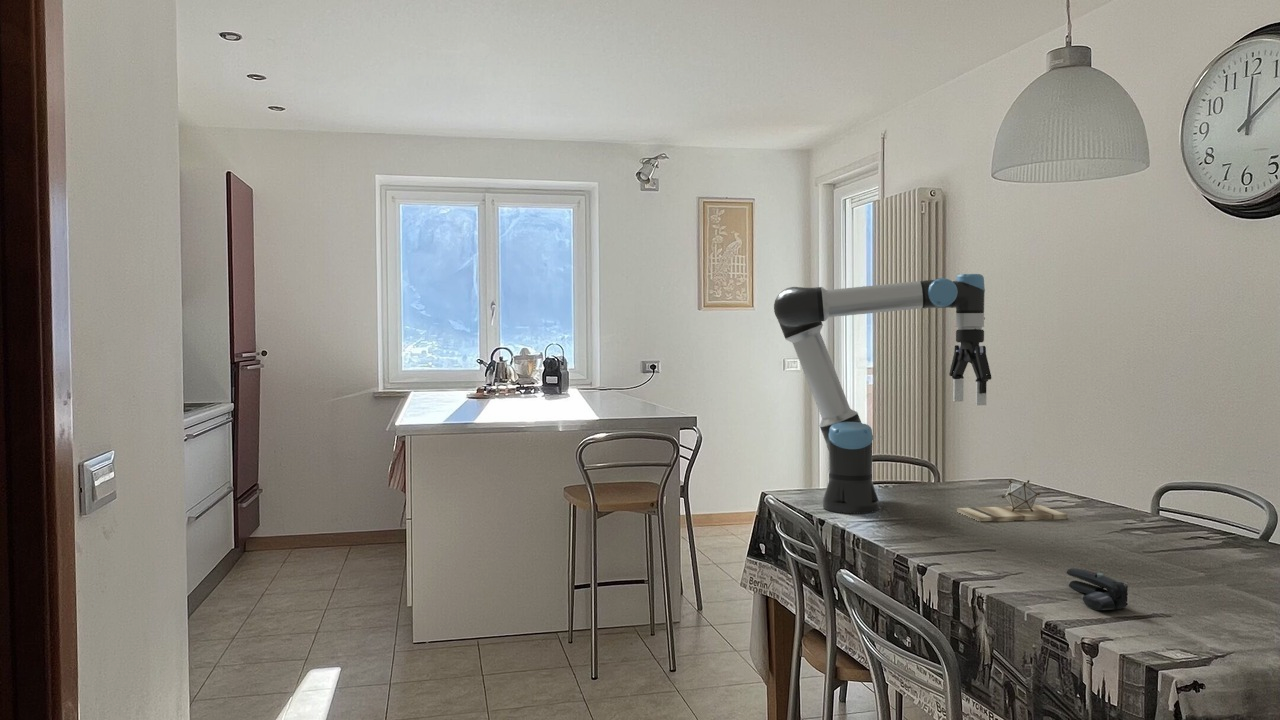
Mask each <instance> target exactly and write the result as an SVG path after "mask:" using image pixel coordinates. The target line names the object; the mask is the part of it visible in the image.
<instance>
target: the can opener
mask: <svg viewBox="0 0 1280 720" xmlns="http://www.w3.org/2000/svg"><path fill="white" fill-rule="evenodd" d="M1066 574H1067V575H1068V576H1071V577H1074V578H1077V579H1079V580H1081V581H1079V580H1071V581H1070V582H1069V584H1068V586H1069V588H1071V589H1072V590H1074V591H1077V592H1079V593H1081V594H1085V595H1084V596H1083V597H1082V601H1083V604H1085V605H1086V606H1087V607H1088V608H1090V609H1092V610H1095V611H1109V610H1114V611H1115V610H1121V609H1123V608H1126V607H1127V606H1128V605H1129V603H1128V595H1129V594H1128V589H1129V586H1128V585H1129V584H1128V583H1127V582H1123V581H1117V580H1115V579H1112V578H1110V577H1108V576H1107V575H1105V574H1104V573H1102V572H1098V573H1097V572H1094V571H1090V570H1087V569H1082V568H1081V569H1080V568H1073V567H1072V568H1068V570H1067V571H1066ZM1083 581H1085V582H1083Z"/></svg>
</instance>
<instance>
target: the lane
mask: <svg viewBox="0 0 1280 720" xmlns="http://www.w3.org/2000/svg"><path fill="white" fill-rule="evenodd" d="M1012 509H1013V507H1012V506H1011V505H1010V506H1009V505H1008V506H984V507H983V506H982V507H981V506H980V507H979V506H978V507H956V513H957V512H958V513H957V514H959V513H961V514H960V515H962V514H963V515H962V516H964V515H966V516H968V517H967V518H969V517H970V518H969V519H971V518H973V519H975V520H974V521H976V520H977V522H978V521H998V522H1015V521H1014V520H1024V521H1039V520H1038V519H1051V520H1068V513H1064V512H1061V511H1059V510H1056V509H1053V508H1050V507H1047V506H1044V505H1040V504H1035V505H1034V504H1033V506H1032V508H1031V509H1032V510H1033V512H1032V511H1031V510H1030V509H1014V511H1012ZM966 516H965V517H966ZM973 519H972V520H973Z"/></svg>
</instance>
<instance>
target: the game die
mask: <svg viewBox="0 0 1280 720" xmlns="http://www.w3.org/2000/svg"><path fill="white" fill-rule="evenodd" d="M1008 482H1009V485H1008V488H1007V490H1006V493H1005V494H1004V495H1002V496H1001V498H1002V499H1005V500H1006V501H1007V502H1008V504H1009V505H1010V506H1012V507H1013V509H1012V511H1014V509H1030V510H1031V511H1032V512H1033V510H1032V509H1031V508H1032V506H1033V505H1034V504H1035V501H1036V499H1037V497H1038V496H1040V495H1041V493H1040V492H1038V493H1037V492H1036V490H1035V489H1034V488H1033V487H1032V485H1030V480H1029V479H1028V480H1027V482H1026V481H1025V482H1023V481H1021V482H1019V481H1011V480H1010V479H1008Z"/></svg>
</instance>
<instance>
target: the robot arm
mask: <svg viewBox="0 0 1280 720" xmlns="http://www.w3.org/2000/svg"><path fill="white" fill-rule="evenodd" d="M985 291H986V289H985V277H984V276H983V274H980V273H964V274H963V273H961V274H958V275H956V278H955V280H954V281H952V280H950V279H949V278H945V277H943V278H942V277H941V278H936V279H928V280H927V279H926V280H917V281H906V282H895V283H885V284H875V285H866V286H865V285H864V286H856V287H844V288H835V289H826V288H824V287H823V286H817V287H815V286H814V287H800V286H791V287H787V288H785V289H783V290H782V291H781V292H779V294H778V295H777V296H776V298H775V300H774V303H773V311H774V312H773V313H774V315H775V318H776V320H777V322H778V323H779V326H780V329H781V331H782V334H783V337H784V338H785V341H788V342H790V343H792V345H793V348H794V351H795V353H796V356H797V358H798V360H799V363H800V365H801V367H802V371H803V374H804V375H805V378H806V381H807V384H808V387H809V389H810V391H811V394H812V396H813V399H814V401H815V404H816V407H817V408H818V409H817V410H818V412H819V415H820V417H821V421H820V423H819V428H820V430H821V433H822V436H823V439H824V441H825V444H826V447H827V450H828V456H829V457H828V459H829V461H828V463H829V464H828V465H829V468H828V471H829V472H828V473H829V475H828V476H829V477H828V483H827V486H826V488H825V491H824V495H823V498H822V499H823V500H822V507H823V509H824V510H827V511H830V512H834V513H840V512H841V513H842V512H843V513H842V514H869V513H875V512H877V511H879V510H880V502H879V497H878V494H877V492H876V488H875V486H874V483H873V441H874V435H873V429H872V427H871V426H870V425H868V424H867V423H863V422H862V421H861V418H860V416H859V413H858V411H857V410H854V409H852V408H851V407H850V404H849V402H848V400H847V397H846V395H845V394H846V393H845V392H844V389H843V387H842V384H841V382H840V379H839V377H838V374H837V372H836V369H835V367H834V363H833V361H832V359H831V356H830V354H829V351H828V349H827V346H826V344H825V341H824V339H823V335H822V333H821V331H822V329H823V326H824V324H823V322H826V320H828V318H835V317H845V316H847V317H848V316H854V315H865V314H877V313H887V312H898V311H906V310H907V311H909V310H919V309H920V310H921V309H925V310H926V309H945V308H949V309H950V308H951V309H953V308H955V310H956V311H955V328H957V329H956V330H955V341H956V343H960V344H956V345H954V351H953V357H952V361H951V365H950V369H949V373H948V375H949V377H951V378H952V381H953V387H952V388H953V392H952V401H953V402H964V380H965V379H964V373H965V371H966V368H967V367H968V364H971V366H972V370H973V372H974V374H975V376H976V379H975V406H987V382H989V380H992V373H991V369H990V365H989V362H988V357H987V349H986V347H987V346H986V345H980V343H984V341H985V330H984V329H982V328H984V327H985V319H986V317H985Z"/></svg>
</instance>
